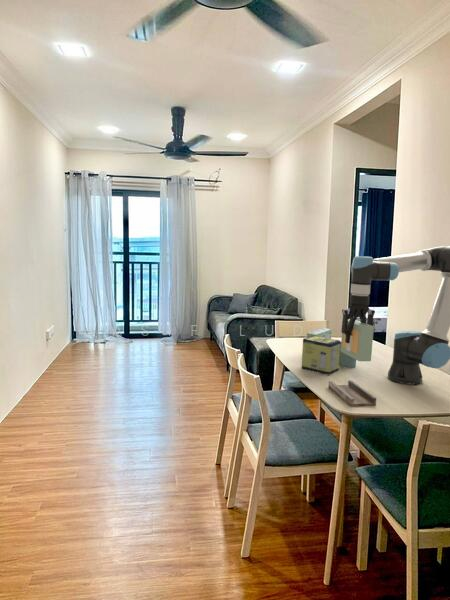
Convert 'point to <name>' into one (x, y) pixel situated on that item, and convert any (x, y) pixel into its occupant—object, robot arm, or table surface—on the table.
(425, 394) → the table surface
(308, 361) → the protein box
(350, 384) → the facing shelf
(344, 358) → the green cup
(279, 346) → the table surface
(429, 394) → the table surface
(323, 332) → the snack box
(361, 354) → the cracker box
